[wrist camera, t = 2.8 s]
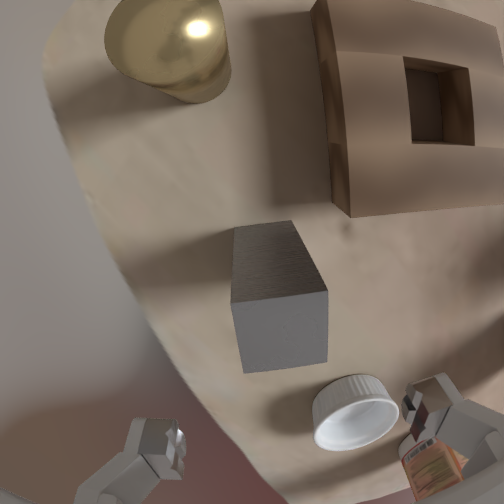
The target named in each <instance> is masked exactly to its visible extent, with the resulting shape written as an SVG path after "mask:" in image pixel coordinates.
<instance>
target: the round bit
mask: <svg viewBox="0 0 504 504" xmlns="http://www.w3.org/2000/svg"><path fill="white" fill-rule="evenodd" d="M104 43H105V49H106V53H107V55H108V58H109V60H110V61H111V63H112V64H113V65H114V66H115V67H116V68H117V69H118V70H119V71H120V72H122V73H123V74H125V75H127V76H129V77H131V78H133V79H135V80H138V81H140V82H142V83H145V84H147V85H149V86H151V87H154V88H156V89H158V90H160V91H162V92H164V93H167V94H169V95H171V96H173V97H175V98H177V99H179V100H181V101H184V102H187V103H193V104H198V103H204V102H208V101H210V100H212V99H214V98H216V97H217V96H219V95H220V94H221V93H222V92H223V91H224V90H225V88H226V87H227V85H228V83H229V81H230V78H231V63H230V56H229V50H228V43H227V37H226V31H225V24H224V18H223V12H222V8H221V5H220V3H219V1H218V0H122V1H121V2H120V3H119V4H118V5H117V7H116V8H115V9H114V11H113V12H112V14H111V16H110V18H109V20H108V23H107V26H106V29H105V36H104Z"/></svg>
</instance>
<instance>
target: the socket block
mask: <svg viewBox="0 0 504 504" xmlns="http://www.w3.org/2000/svg"><path fill="white" fill-rule="evenodd" d="M310 13H311V18H312V24H313V30H314V35H315V42H316V48H317V54H318V61H319V68H320V75H321V82H322V90H323V99H324V107H325V116H326V126H327V136H328V148H329V160H330V174H331V190H332V203H334V204H335V205H336V206H337V207H338V208H339V209H341V210H342V211H343V212H344V213H345V214H346V215H348V216H349V217H350V218H357V217H367V216H376V215H386V214H396V213H406V212H417V211H427V210H438V209H449V208H461V207H472V206H485V205H498V204H504V64H503V58H502V53H501V47H500V43H499V38H498V34H497V29H496V27H494V26H492V25H489V24H487V23H484V22H482V21H479V20H476V19H473V18H471V17H468V16H465V15H462V14H459V13H456V12H453V11H449V10H446V9H443V8H439V7H435V6H432V5H428V4H424V3H420V2H415V1H411V0H317V1H316V2H315V4H314V5H313V7H312V9H311V10H310ZM405 69H412V70H420V71H427V72H434V73H437V74H438V82H439V90H440V100H441V111H442V125H443V141H434V140H412V139H411V123H410V111H409V100H408V91H407V83H406V75H405Z"/></svg>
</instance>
